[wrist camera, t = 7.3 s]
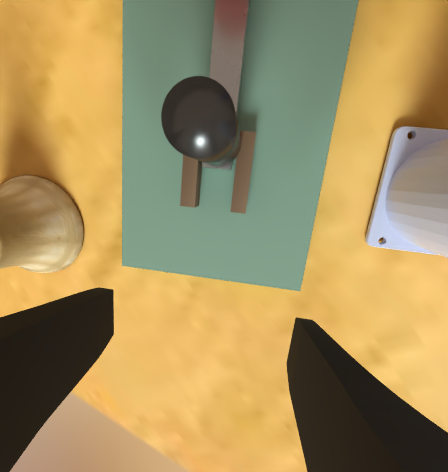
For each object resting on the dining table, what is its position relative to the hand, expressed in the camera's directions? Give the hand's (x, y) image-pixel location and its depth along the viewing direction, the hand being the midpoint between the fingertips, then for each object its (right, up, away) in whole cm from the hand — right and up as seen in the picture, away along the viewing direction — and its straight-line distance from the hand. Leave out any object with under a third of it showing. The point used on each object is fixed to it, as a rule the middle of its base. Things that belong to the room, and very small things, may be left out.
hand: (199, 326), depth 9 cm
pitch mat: (+1, +12, +7) cm, 14 cm away
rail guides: (+1, +8, +7) cm, 11 cm away
